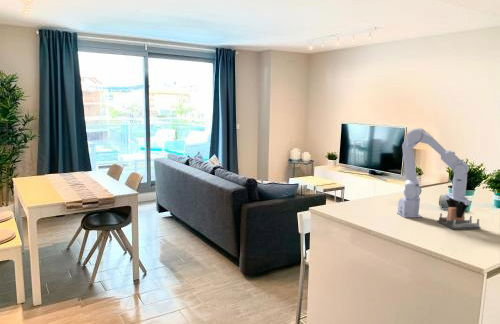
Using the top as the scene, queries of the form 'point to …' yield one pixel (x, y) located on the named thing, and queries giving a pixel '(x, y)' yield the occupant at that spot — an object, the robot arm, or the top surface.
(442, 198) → the ceramic mug
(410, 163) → the robot arm
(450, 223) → the pegged metal rack
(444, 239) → the top surface
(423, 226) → the top surface
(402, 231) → the top surface
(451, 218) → the peach brick
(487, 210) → the top surface
